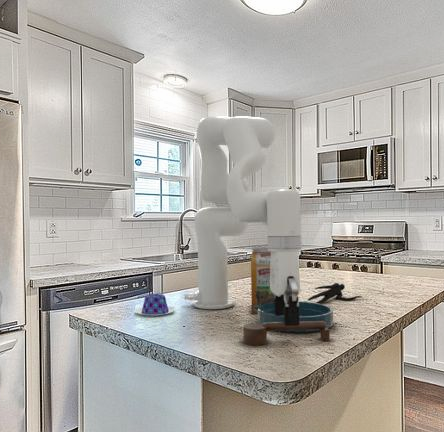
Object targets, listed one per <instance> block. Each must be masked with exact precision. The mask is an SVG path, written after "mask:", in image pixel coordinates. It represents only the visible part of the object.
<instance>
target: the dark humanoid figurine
mask: <svg viewBox="0 0 444 432" xmlns="http://www.w3.org/2000/svg"><path fill="white" fill-rule="evenodd" d="M345 287H346V286H345V284H343V283H340V284H339V283H338V282H335V283H333V284H331V285H321V286H317V287H315V288H314V290H319V289H320V290H324V289H325V290H324V291H321V292H318V293H316V294H314V295H312V296H311V297H309V298H308V299H307V302H310V301H312V300H315V299H318V298H321V297H322V298H321V299H320V300H318V301H316V302H315V303H318V304H323V303H325V302H327V301H329V300H330V299H333V298H334V297H335V300H336V301H344V302H350V301H354V300H356V299H360V298H361V299H363V295H356V296H352V297H351V296H350V297H343V292H342V291H343V290H345V289H346V288H345ZM326 289H327V290H326Z"/></svg>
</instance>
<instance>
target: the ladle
mask: <svg viewBox="0 0 444 432" xmlns="http://www.w3.org/2000/svg"><path fill="white" fill-rule="evenodd" d="M326 326H327V324H326V322H324V321H302V322H299V325H298V326H285V325H284V322H266V323H263V324H260V323H259V322H257V323H256V322H251V323H246V324H244V325H243V326H242V329H243V331H242V332H243V343H244V344H245V345H248V346H262V345H266V344H267V343H268V340H267V339H268V332H269V331H272V332H274V331H275V332H276V331H277V330H309V329H320V331H319V333H320V334H319V335H320V336H319V337H320V340H321V341H322V342H329V341H330V340H331V339H330V329H329V328H326Z"/></svg>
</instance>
